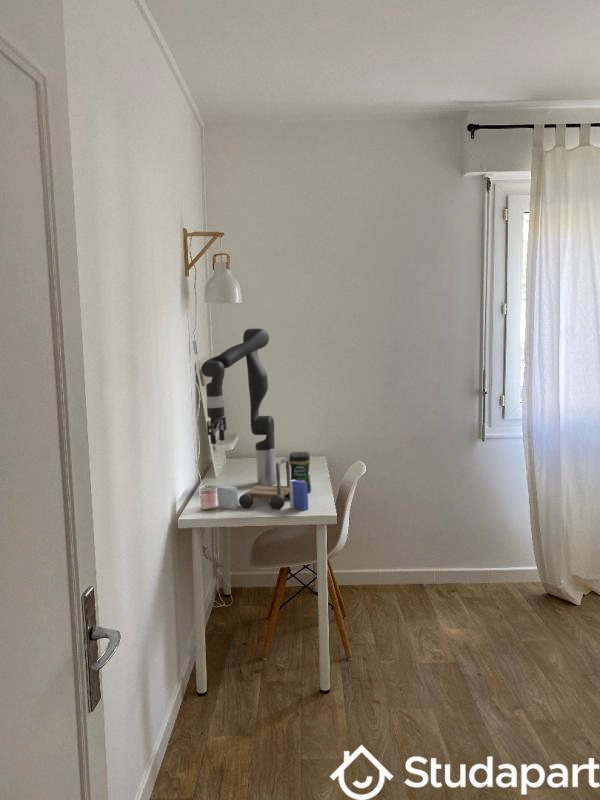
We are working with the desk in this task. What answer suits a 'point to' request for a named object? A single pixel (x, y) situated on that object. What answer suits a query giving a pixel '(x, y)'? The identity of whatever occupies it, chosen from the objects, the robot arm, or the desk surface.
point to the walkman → (298, 494)
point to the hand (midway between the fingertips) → (217, 442)
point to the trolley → (269, 490)
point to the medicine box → (227, 497)
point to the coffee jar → (300, 467)
